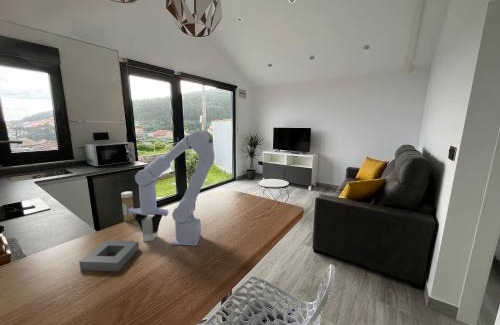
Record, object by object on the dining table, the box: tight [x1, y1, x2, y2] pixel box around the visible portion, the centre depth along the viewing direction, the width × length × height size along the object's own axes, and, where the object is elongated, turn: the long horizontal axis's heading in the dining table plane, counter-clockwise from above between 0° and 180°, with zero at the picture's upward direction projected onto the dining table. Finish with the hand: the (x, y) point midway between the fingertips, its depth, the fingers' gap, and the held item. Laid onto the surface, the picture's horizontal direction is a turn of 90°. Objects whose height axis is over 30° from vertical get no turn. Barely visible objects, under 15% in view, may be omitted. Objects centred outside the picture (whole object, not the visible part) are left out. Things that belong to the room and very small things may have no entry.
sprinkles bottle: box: [120, 191, 135, 222], centre depth 99 cm, size 5×5×14 cm
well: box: [78, 239, 140, 272], centre depth 72 cm, size 12×12×3 cm
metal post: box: [141, 215, 159, 242], centre depth 84 cm, size 4×4×9 cm
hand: (150, 231), depth 84 cm, fingers closed on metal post, 4 cm apart
